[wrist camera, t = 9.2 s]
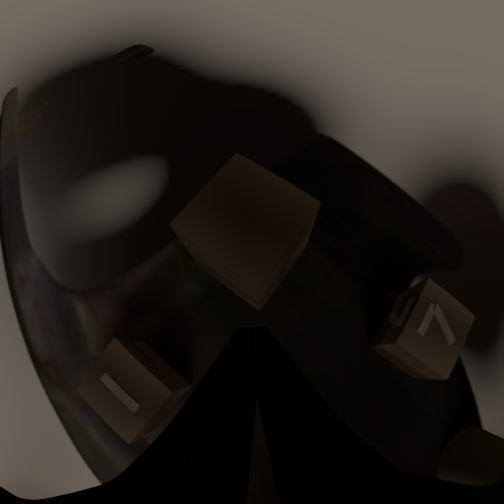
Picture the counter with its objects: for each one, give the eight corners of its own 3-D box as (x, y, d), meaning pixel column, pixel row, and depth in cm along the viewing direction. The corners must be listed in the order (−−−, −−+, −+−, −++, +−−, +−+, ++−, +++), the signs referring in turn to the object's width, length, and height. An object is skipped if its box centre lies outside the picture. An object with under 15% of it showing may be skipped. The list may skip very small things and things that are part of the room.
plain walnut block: (259, 310, 21) (256, 289, 14) (198, 264, 23) (169, 224, 16) (304, 249, 23) (321, 202, 16) (244, 209, 24) (236, 152, 17)
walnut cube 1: (155, 428, 18) (128, 444, 14) (110, 384, 20) (74, 388, 15) (192, 384, 20) (171, 392, 15) (143, 341, 21) (112, 335, 16)
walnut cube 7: (413, 377, 19) (447, 379, 14) (367, 345, 20) (395, 342, 15) (440, 325, 20) (476, 315, 15) (397, 293, 21) (428, 276, 16)
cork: (492, 439, 15) (569, 452, 5) (456, 490, 14) (525, 524, 4) (466, 415, 17) (553, 426, 6) (425, 470, 15) (502, 512, 5)
